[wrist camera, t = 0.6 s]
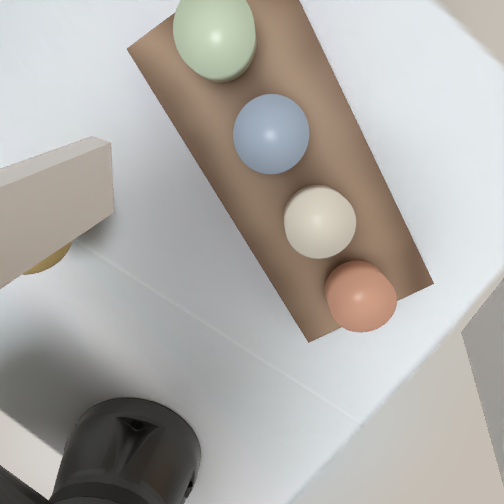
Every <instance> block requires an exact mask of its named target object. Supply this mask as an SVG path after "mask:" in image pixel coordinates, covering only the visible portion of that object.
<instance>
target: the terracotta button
mask: <svg viewBox="0 0 504 504" xmlns="http://www.w3.org/2000/svg"><path fill="white" fill-rule="evenodd" d="M325 297H326V300H327V303H328V306H329V309H330V312H331V314H332V316H333V318H334V320H335V321H336V322H337V323H338V324H339V325H340V326H341V327H343V328H345V329H347V330H350V331H353V332H368V331H372V330H375V329H377V328H379V327H381V326H382V325H384V324H385V323H386V322H387V321H388V320H389V319H390V318H391V317H392V315H393V313H394V311H395V309H396V305H397V296H396V292H395V289H394V287H393V286H392V284H391V283H390V282H389V281H388V280H387V278H386V277H385V276H384V275H383V273H382V272H381V271H380V270H379V269H378V268H377V267H376V266H374V265H373V264H371V263H368V262H365V261H349V262H346V263H344V264H341V265H340V266H338V267H337V268H335V269H334V270H333V271H332V272H331V273H330V275H329V276H328V278H327V280H326V283H325Z"/></svg>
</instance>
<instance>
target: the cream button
mask: <svg viewBox="0 0 504 504" xmlns="http://www.w3.org/2000/svg"><path fill="white" fill-rule="evenodd" d="M283 219H284V227H285V233H286V236H287V239H288V241H289V243H290V244H291V246H292V247H293V248H294V249H295V250H296V251H297V252H299V253H300V254H302V255H304V256H306V257H310V258H316V259H322V258H328V257H331V256H334V255H336V254H338V253H339V252H341V251H342V250H343V249H345V248H346V247H347V245H348V244H349V243H350V241H351V240H352V238H353V236H354V233H355V229H356V216H355V212H354V210H353V207H352V206H351V204H350V203H349V202H348V200H347V199H345V198H344V197H343V196H342V195H341V194H339V193H338V192H337V191H336V190H334V189H332V188H330V187H328V186H324V185H311V186H307V187H304V188H302V189H300V190H299V191H297V192H296V193H295V194H293V196H292V197H291V198H290V199H289V201H288V202H287V204H286V207H285V210H284V216H283Z"/></svg>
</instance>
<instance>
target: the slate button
mask: <svg viewBox="0 0 504 504" xmlns="http://www.w3.org/2000/svg"><path fill="white" fill-rule="evenodd" d="M233 140H234V145H235V149H236V151H237V153H238V155H239V157H240V158H241V160H242V161H243V162H244V163H245V164H246V165H247V166H248V167H249V168H251V169H252V170H255V171H257V172H259V173H263V174H278V173H282V172H285V171H287V170H289V169H290V168H292V167H293V166H294V165H296V164H297V163H298V162H299V160H300V159H301V158H302V156H303V155H304V153H305V151H306V149H307V146H308V142H309V125H308V121H307V118H306V116H305V114H304V112H303V111H302V109H301V108H300V107H299V106H298V105H297V104H296V103H295V102H294V101H292V100H291V99H289V98H287V97H285V96H282V95H277V94H266V95H262V96H259V97H256V98H254V99H253V100H251V101H250V102H248V103H247V104H246V105H245V106H244V107H243V108H242V110H241V111H240V113H239V114H238V116H237V118H236V121H235V124H234V130H233Z"/></svg>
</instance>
